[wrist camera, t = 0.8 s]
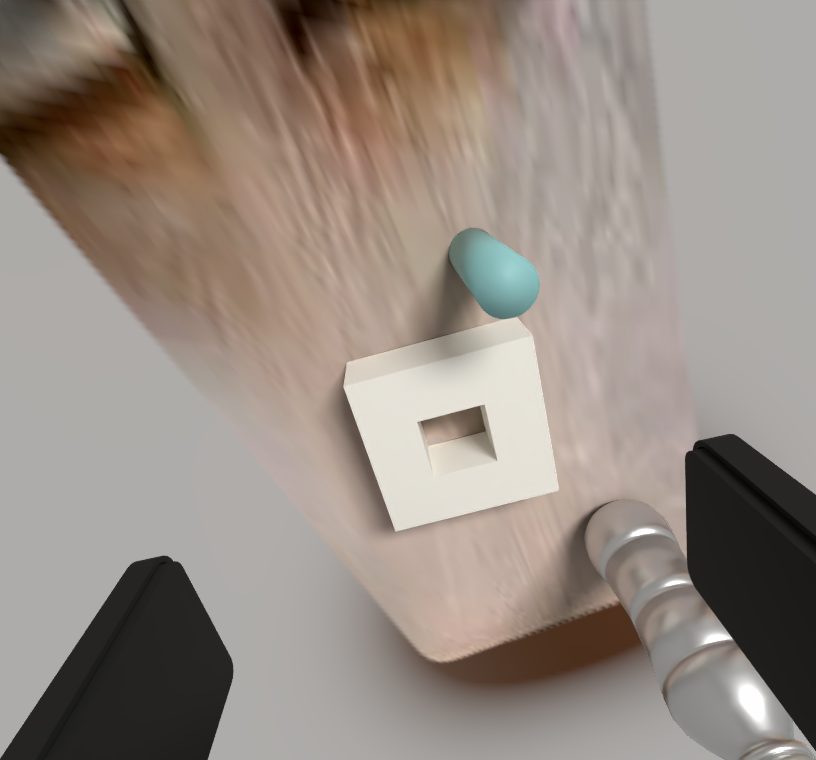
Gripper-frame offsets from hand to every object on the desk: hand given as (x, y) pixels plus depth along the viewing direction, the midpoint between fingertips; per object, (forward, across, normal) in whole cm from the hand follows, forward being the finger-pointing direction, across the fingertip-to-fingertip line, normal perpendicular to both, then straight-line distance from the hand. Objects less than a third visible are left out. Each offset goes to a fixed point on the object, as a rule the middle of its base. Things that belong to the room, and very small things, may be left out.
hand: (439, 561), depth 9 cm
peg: (+25, -5, -1) cm, 26 cm away
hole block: (+26, -1, +10) cm, 28 cm away
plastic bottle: (+26, -13, +24) cm, 38 cm away
